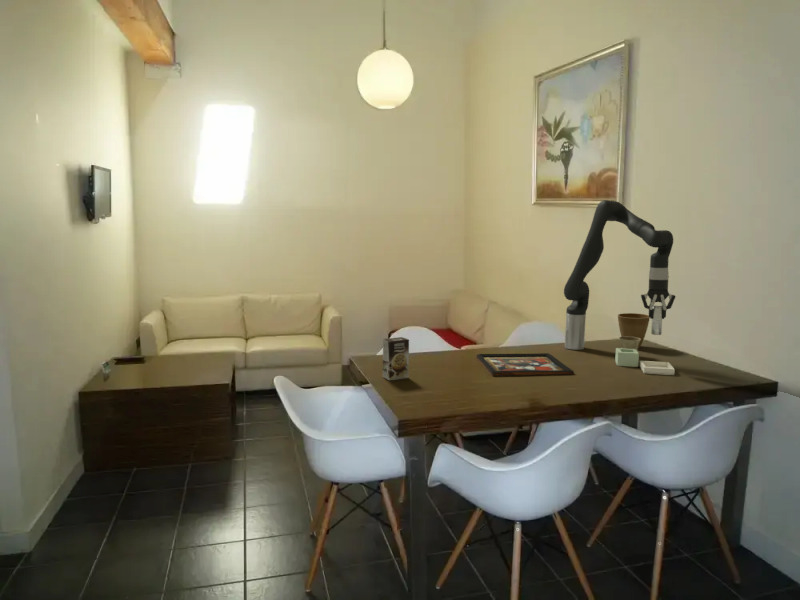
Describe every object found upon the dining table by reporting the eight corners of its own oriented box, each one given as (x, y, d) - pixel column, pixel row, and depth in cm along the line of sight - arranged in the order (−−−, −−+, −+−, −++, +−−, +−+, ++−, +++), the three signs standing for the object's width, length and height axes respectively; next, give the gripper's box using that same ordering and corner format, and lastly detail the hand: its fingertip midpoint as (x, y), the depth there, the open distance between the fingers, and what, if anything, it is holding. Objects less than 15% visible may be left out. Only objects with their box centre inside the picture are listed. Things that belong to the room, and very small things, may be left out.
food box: (389, 381, 249) (389, 341, 247) (382, 377, 255) (382, 338, 252) (409, 378, 253) (409, 339, 251) (402, 374, 259) (402, 336, 256)
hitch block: (617, 365, 274) (618, 352, 273) (615, 360, 282) (615, 348, 281) (638, 366, 272) (638, 353, 271) (635, 362, 280) (636, 349, 279)
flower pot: (636, 354, 295) (637, 336, 293) (642, 359, 286) (643, 340, 284) (616, 353, 296) (617, 335, 294) (621, 358, 286) (622, 340, 285)
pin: (652, 334, 263) (653, 306, 261) (650, 333, 266) (651, 305, 265) (662, 335, 262) (663, 306, 260) (660, 333, 266) (661, 305, 264)
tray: (643, 373, 261) (644, 367, 261) (639, 366, 273) (639, 360, 272) (674, 375, 259) (674, 369, 258) (668, 367, 270) (668, 362, 270)
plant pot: (639, 343, 318) (641, 312, 315) (653, 350, 303) (655, 317, 301) (611, 343, 317) (613, 312, 315) (623, 350, 302) (625, 318, 300)
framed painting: (495, 380, 252) (496, 373, 252) (468, 359, 286) (468, 353, 286) (581, 376, 260) (582, 369, 260) (545, 356, 294) (545, 350, 294)
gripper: (675, 277, 263) (673, 317, 265) (639, 277, 266) (637, 316, 268) (678, 279, 256) (676, 320, 258) (642, 278, 259) (640, 319, 261)
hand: (657, 318), depth 263 cm, fingers closed on pin, 4 cm apart
